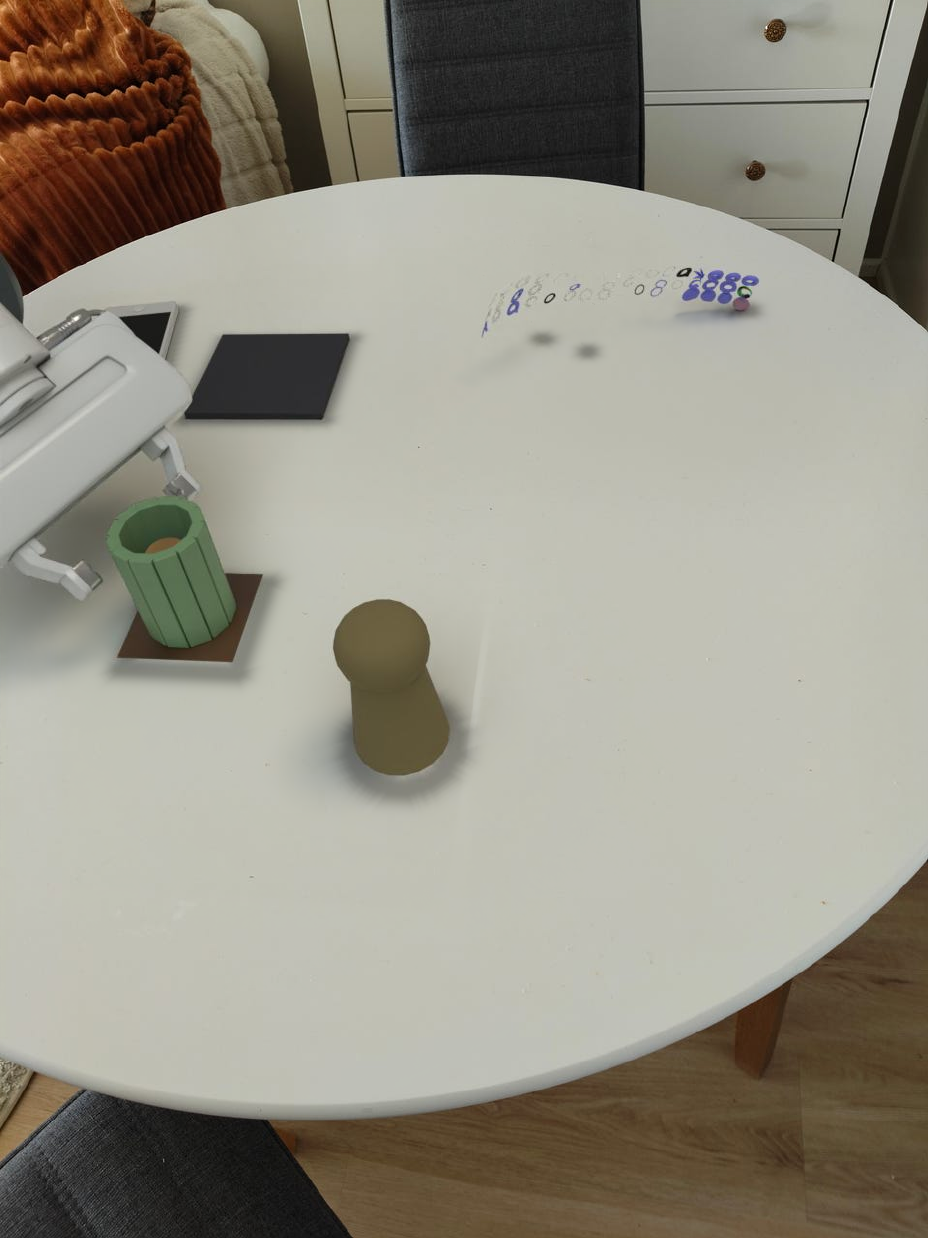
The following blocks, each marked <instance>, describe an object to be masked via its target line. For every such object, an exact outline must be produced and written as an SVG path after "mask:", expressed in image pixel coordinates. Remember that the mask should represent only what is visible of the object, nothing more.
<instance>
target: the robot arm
mask: <svg viewBox="0 0 928 1238" xmlns="http://www.w3.org/2000/svg"><path fill="white" fill-rule="evenodd" d="M24 303H25V302H24V296H23V291H22V288H21V284H20V281H19V280H18V278H17V275H16V274H15V272H14V270H13V268H12V267H11V265H10V264H9V262H8V261H7V260H6V258H5V256H4V255H3V254H2V252H1V251H0V570H1V569H2V568H4V567H5V566H6V565H7V564H8V563H9V562H10V563H11V564H12V565H13V566H14V567H15V568H16V569H17V570H18V571H20V572H21V573H22V574H23V575H24V576H27V577H31V578H36V579H39V580H43V581H46V582H51V583H55V584H60V585H61V586H63V588H65V589H66V590H67V591H68V592H69V593H70V595H72V596H73V597H74V598H75V599H76V600H78V601H81V602H83V601H84V600H85V599H86V598H87V597H89V596H90V595H91V594H92V593H93V592H94V591H95V590H96V589H97V588H98V587H99V586H100V585H102V583H103V581H104V580H103V577H102V576H101V575H100V574H99V573H98V572H97V571H93V569H92V567H91V565H89V564H88V563H87V562H86V561H85V559H81V560H80V561H79V562H78V563H76V564H75V565H74V566H71V565H69V564H64V563H63V562H62V563H61V562H59V561H54V560H52V559H50V558H46V557H44V555H45V554H46V552H47V548H46V547H45V546H44V545H43V544H42V543H41V542H40V541H39V540H38V538H39V537H41V536H42V534H45V532H46V531H47V530H49V529H50V528H51V527H52V526H54V525H55V524H56V523H57V522H58V521H59V520H60V519H62V518H63V517H64V516H65V515H66V514H67V513H69V512H70V511H71V510H73V509H74V508H75V507H76V506H77V505H78V504H79V503H81V502H82V501H83V500H84V499H86V498H87V497H88V496H89V495H90V494H92V492H94V491H95V490H96V489H97V488H98V487H99V486H101V485H102V484H103V483H104V482H106V481H107V480H108V479H109V478H110V477H112V476H113V475H114V474H115V473H116V472H118V471H119V470H121V468H122V467H123V466H124V465H126V464H127V463H128V462H129V461H131V459H133V458H134V457H135V456H136V455H138V454H139V453H140V452H142V453H143V454H145V456H147V458H149V460H151V461H152V462H156V461H157V460H159V459H160V461H161V464H162V467H163V469H164V472H165V475H166V478H167V480H168V483H167V485H166V486H165V487H164V488H163V489H162V493H164V495H165V496H166V497H181V498H183V497H184V498H186V499H188V500H189V501H191V502H193V500H194V499H195V498H197V496H198V495H199V494H200V493H201V492H202V491H203V487H202V485H201V483H199V482H198V480H196V478H194V477H193V475H192V474H191V473H190V472H188V470H186V464H185V460H184V457H183V455H182V451H181V447H180V444H179V441H178V438H177V437H176V436H175V435H174V434H173V433H172V432H171V431H170V430H169V429H168V428H170V427H171V426H172V425H173V424H174V423H176V422H177V421H178V420H179V419H180V418H181V417H182V416H183V415H184V412H185V411H186V410H187V408H188V407H189V405H190V404H191V402H192V400H193V399H192V396H193V393H192V388H191V384H190V382H189V380H187V378H186V377H185V376H184V375H183V374H182V373H181V372H180V371H179V370H178V369H177V368H175V367H174V366H173V365H172V364H171V363H170V362H169V361H167V360H166V358H165V359H164V358H163V357H162V356H160V355H159V354H158V353H157V352H156V351H154V350H153V349H152V348H151V347H149V346H148V345H147V344H145V343H144V342H143V341H142V340H140V339H139V338H138V337H136V336H135V335H134V333H133V332H132V331H131V330H130V329H129V328H128V327H127V326H126V325H125V323H124V322H123V321H122V320H121V319H120V318H119V317H118V316H116V315H115V314H113V313H112V312H110V311H104V310H105V309H104V310H103V309H94V308H93V309H89V310H87V309H86V308H79V309H76V310H75V311H73V312H71V313H70V314H69V315H68V316H66V318H65V319H64V320H63V321H62V322H60V323H58V324H57V325H54V326H52V327H51V328H49V329H47V330H45V331H44V332H43V333H41V334H40V335H38V336H35V335H34V334H33V333H32V332H31V331H30V330H29V329H28V328H27V327H26V326H25V325H24V316H25V304H24ZM92 317H95V318H92Z"/></svg>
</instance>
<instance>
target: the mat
mask: <svg viewBox="0 0 928 1238" xmlns="http://www.w3.org/2000/svg"><path fill="white" fill-rule="evenodd" d="M349 342H350V333H347V332H346V333H343V332H342V333H235V334H234V333H229V334H228V333H227V334H224V333H223V334H222V335H221V337H220V339H219V341H218V343H217V346H216V348H215V349H214V351H213V353H212V355H211V358H210V360H209V362H208V364H207V366H206V367H205V370H204V372H203V373H202V376H201V378H200V380H199V382H198V384H197V386H196V388H195V390H194V392H193V393H192V399H193V400H192V402H191V404H190V405H189V407H188V408H187V410H186V411H185V412H184V413H183V415H184V417H185V419H222V420H223V419H224V420H225V419H227V420H228V419H231V420H232V419H233V420H234V419H235V420H236V419H239V420H241V419H242V420H243V419H244V420H245V419H246V420H249V419H252V420H253V419H254V420H255V419H256V420H257V419H258V420H261V419H262V420H272V419H273V420H322V419H323V418H324V415H325V412H326V409H327V406H328V403H329V400H330V397H331V395H332V391H333V388H334V385H335V382H336V380H337V377H338V374H339V371H340V369H341V366H342V362H343V359H344V357H345V353H346V351H347V348H348V345H349Z"/></svg>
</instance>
